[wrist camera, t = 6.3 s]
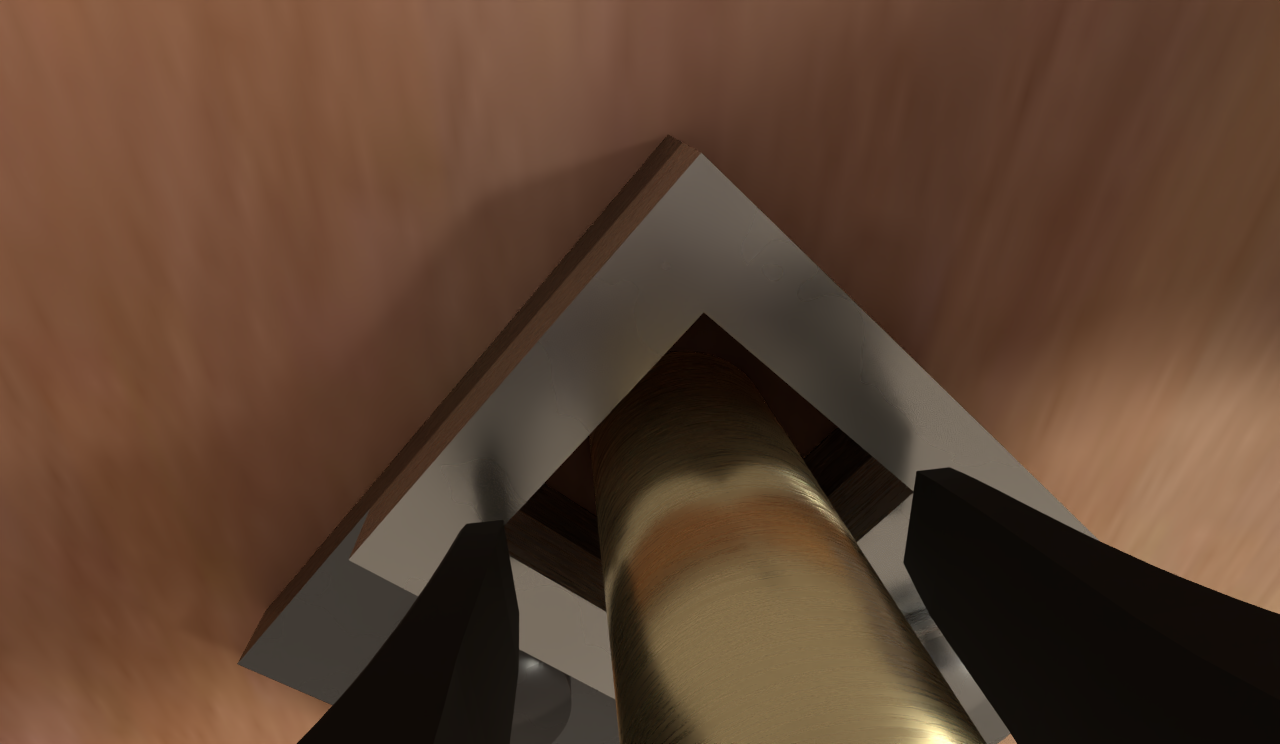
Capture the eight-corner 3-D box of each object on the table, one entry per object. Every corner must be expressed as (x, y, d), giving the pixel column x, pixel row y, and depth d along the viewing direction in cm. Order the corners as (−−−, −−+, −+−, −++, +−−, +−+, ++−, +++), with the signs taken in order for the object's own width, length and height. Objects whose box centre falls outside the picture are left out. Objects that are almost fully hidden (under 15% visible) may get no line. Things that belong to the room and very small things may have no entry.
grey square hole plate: (387, 467, 14) (334, 592, 11) (668, 134, 12) (713, 159, 9) (808, 716, 19) (864, 857, 16) (1059, 512, 17) (1187, 623, 14)
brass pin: (801, 420, 15) (1094, 831, 7) (681, 535, 16) (816, 1015, 8) (674, 314, 14) (857, 675, 5) (551, 446, 15) (552, 923, 6)
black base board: (668, 134, 12) (691, 147, 10) (949, 405, 15) (1011, 458, 13) (265, 611, 15) (220, 696, 13) (565, 752, 19) (567, 838, 17)
